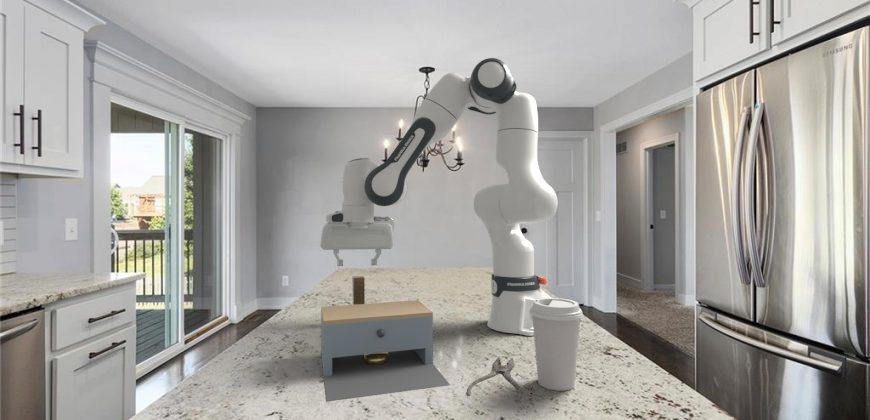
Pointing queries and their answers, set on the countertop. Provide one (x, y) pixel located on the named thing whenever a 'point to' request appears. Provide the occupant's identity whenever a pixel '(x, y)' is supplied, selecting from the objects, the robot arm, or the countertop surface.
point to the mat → (380, 376)
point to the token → (376, 358)
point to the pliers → (496, 370)
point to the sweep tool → (358, 290)
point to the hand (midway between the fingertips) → (357, 265)
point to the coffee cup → (556, 341)
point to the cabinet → (375, 330)
